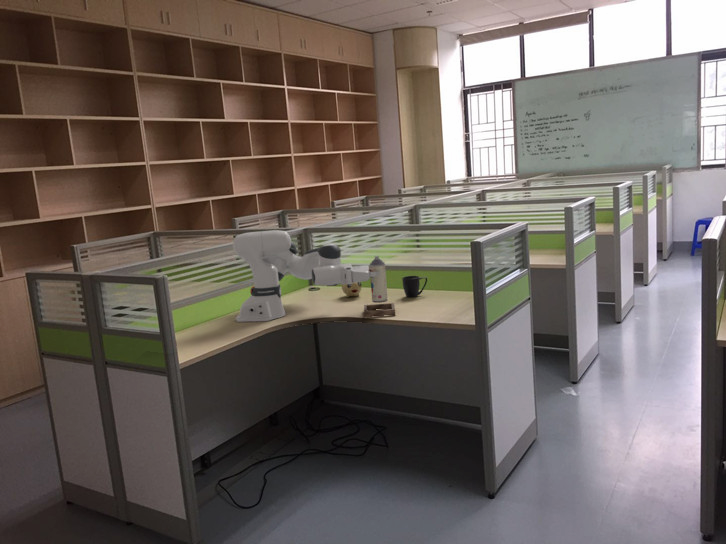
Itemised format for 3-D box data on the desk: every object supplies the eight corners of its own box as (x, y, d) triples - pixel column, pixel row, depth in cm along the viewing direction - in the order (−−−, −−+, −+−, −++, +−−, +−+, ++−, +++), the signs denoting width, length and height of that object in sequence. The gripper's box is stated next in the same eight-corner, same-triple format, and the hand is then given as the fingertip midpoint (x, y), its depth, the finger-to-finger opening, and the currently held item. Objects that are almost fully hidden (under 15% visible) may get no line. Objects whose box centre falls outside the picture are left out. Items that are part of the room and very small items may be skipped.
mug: (429, 296, 294) (428, 277, 293) (404, 299, 294) (403, 279, 292) (426, 293, 302) (425, 274, 301) (402, 295, 302) (401, 276, 300)
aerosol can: (372, 299, 275) (368, 255, 272) (387, 298, 275) (384, 254, 272) (372, 303, 269) (368, 258, 265) (387, 301, 269) (384, 256, 265)
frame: (364, 317, 264) (363, 311, 263) (364, 310, 277) (364, 305, 276) (395, 315, 263) (395, 309, 263) (394, 308, 276) (393, 302, 276)
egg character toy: (346, 300, 302) (344, 278, 300) (340, 295, 313) (338, 275, 311) (365, 297, 304) (363, 276, 303) (359, 293, 316) (357, 272, 314)
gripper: (349, 276, 281) (379, 274, 281) (348, 285, 261) (380, 282, 260) (348, 263, 280) (378, 260, 280) (347, 270, 260) (379, 268, 259)
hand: (379, 271), depth 270 cm, fingers closed on aerosol can, 7 cm apart
